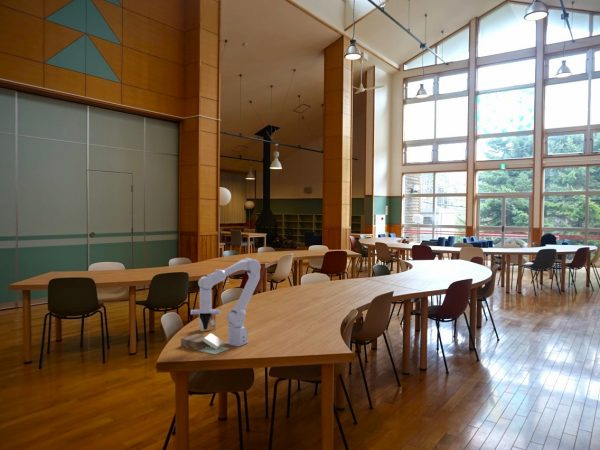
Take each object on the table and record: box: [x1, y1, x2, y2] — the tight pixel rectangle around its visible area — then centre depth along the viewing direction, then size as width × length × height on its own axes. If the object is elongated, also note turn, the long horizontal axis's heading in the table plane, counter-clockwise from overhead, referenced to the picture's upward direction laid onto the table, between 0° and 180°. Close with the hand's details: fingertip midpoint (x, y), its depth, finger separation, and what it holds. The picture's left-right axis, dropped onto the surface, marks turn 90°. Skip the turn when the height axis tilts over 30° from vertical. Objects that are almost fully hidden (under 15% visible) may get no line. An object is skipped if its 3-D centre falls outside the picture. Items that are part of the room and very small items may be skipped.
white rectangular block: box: [203, 333, 225, 350], centre depth 208 cm, size 8×6×2 cm
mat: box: [199, 345, 230, 355], centre depth 206 cm, size 10×10×1 cm
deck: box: [180, 333, 210, 351], centre depth 212 cm, size 12×10×4 cm
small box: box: [198, 314, 217, 333], centre depth 241 cm, size 8×6×10 cm
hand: (205, 328), depth 209 cm, fingers closed
